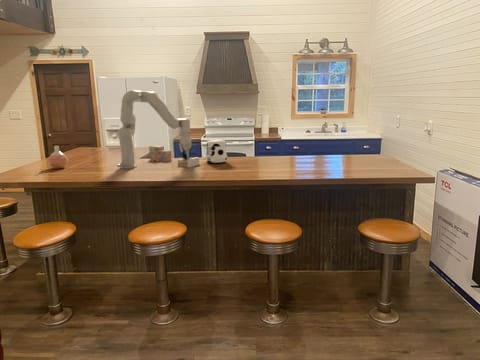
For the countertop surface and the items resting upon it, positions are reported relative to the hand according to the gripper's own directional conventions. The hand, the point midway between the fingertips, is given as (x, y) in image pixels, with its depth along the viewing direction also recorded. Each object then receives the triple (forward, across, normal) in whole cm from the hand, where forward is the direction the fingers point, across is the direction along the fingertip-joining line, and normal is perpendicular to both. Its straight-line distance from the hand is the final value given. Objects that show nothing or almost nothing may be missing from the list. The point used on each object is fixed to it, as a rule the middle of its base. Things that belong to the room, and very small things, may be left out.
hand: (186, 157), depth 277 cm
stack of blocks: (+7, -13, -36) cm, 39 cm away
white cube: (+7, -21, +15) cm, 27 cm away
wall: (+6, 0, +6) cm, 9 cm away
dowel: (+4, 0, 0) cm, 4 cm away
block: (+6, 0, 0) cm, 6 cm away
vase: (+7, +47, -88) cm, 100 cm away
